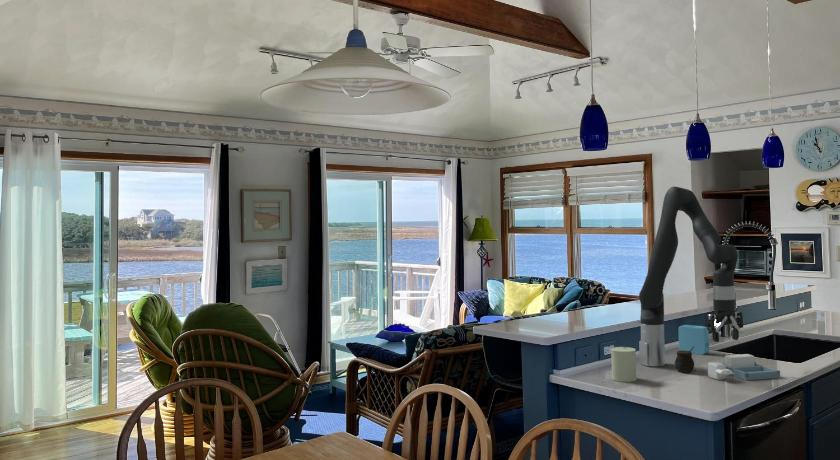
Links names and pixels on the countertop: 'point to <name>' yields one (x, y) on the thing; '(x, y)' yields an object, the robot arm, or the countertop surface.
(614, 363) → the can
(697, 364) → the countertop surface
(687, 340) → the light blue square block
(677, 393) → the countertop surface
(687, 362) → the mate gourd
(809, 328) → the countertop surface
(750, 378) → the dock
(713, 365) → the power adapter
